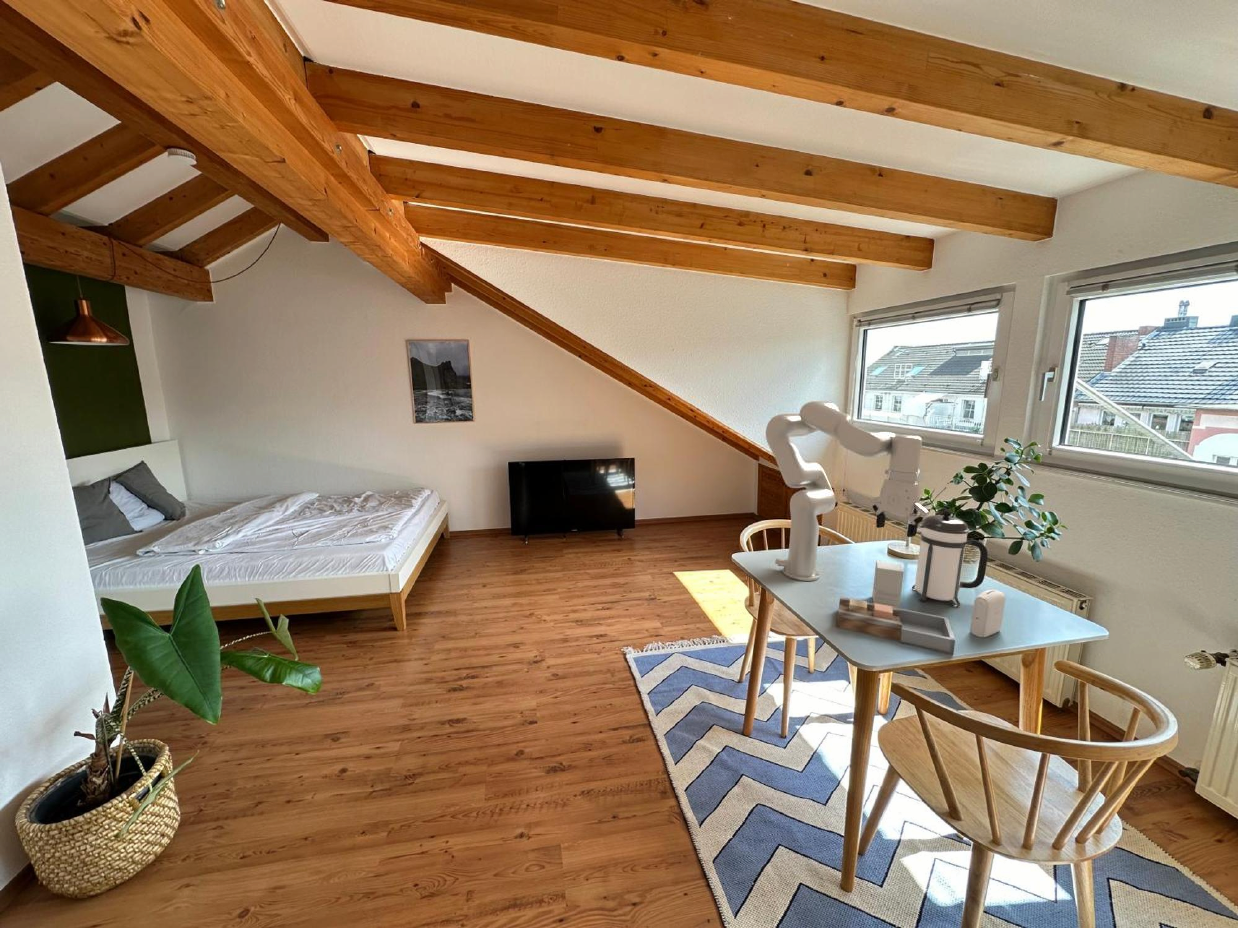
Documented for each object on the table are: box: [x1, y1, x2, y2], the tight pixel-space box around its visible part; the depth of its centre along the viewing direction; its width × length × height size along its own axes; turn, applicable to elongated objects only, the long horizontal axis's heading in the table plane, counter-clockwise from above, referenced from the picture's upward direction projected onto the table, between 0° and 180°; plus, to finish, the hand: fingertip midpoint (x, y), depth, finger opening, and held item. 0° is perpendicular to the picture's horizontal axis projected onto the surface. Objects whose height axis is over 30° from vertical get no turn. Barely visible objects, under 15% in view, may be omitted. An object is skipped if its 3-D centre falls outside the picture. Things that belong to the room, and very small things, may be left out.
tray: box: [899, 607, 956, 656], centre depth 135 cm, size 12×14×4 cm
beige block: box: [849, 598, 868, 615], centre depth 142 cm, size 4×4×3 cm
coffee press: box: [911, 509, 989, 608], centre depth 158 cm, size 17×16×30 cm
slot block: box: [836, 596, 902, 642], centre depth 141 cm, size 16×12×4 cm
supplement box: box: [871, 560, 905, 608], centre depth 155 cm, size 7×7×13 cm
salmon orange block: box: [873, 603, 893, 620], centre depth 139 cm, size 4×4×3 cm
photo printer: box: [969, 589, 1006, 638], centre depth 138 cm, size 10×4×12 cm, turn 118°
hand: (895, 531), depth 148 cm, fingers open, 9 cm apart
